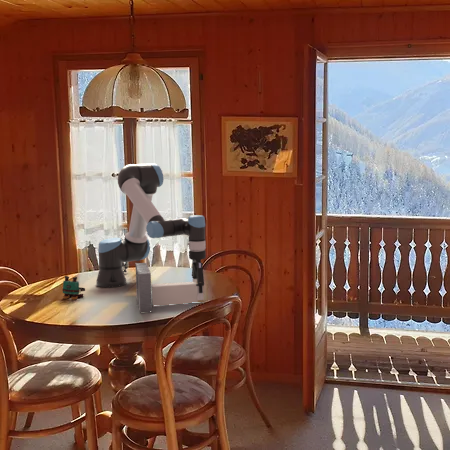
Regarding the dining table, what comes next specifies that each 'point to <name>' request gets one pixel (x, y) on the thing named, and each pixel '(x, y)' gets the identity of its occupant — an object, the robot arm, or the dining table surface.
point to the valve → (124, 266)
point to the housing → (143, 287)
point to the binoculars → (71, 288)
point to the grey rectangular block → (174, 293)
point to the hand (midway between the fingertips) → (198, 296)
